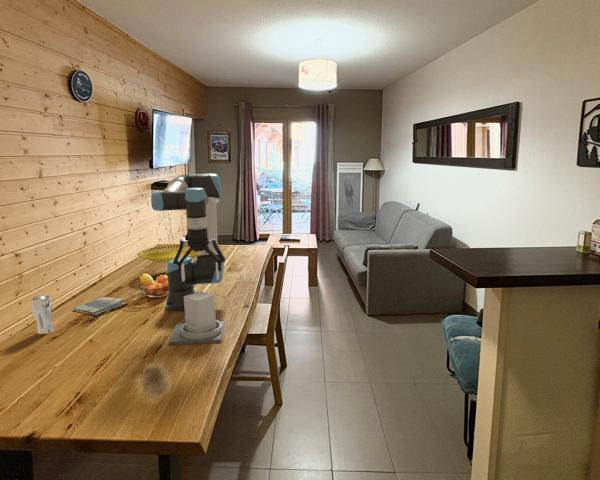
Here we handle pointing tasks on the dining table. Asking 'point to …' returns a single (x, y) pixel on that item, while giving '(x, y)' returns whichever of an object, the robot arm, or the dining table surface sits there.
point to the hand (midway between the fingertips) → (200, 279)
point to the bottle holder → (196, 335)
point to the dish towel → (100, 305)
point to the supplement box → (200, 312)
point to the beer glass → (42, 313)
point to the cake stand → (166, 254)
